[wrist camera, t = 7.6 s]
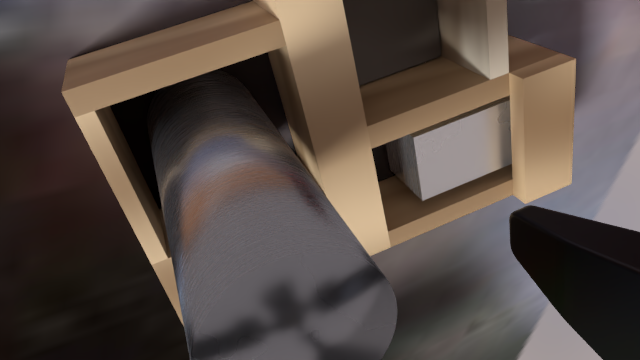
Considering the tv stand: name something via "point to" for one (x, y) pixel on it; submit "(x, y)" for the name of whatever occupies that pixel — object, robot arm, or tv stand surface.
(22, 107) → the tv stand surface
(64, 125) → the tv stand surface
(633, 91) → the tv stand surface
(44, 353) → the tv stand surface
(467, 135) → the grey rectangular block
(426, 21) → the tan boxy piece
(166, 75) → the socket block
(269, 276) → the cylinder
